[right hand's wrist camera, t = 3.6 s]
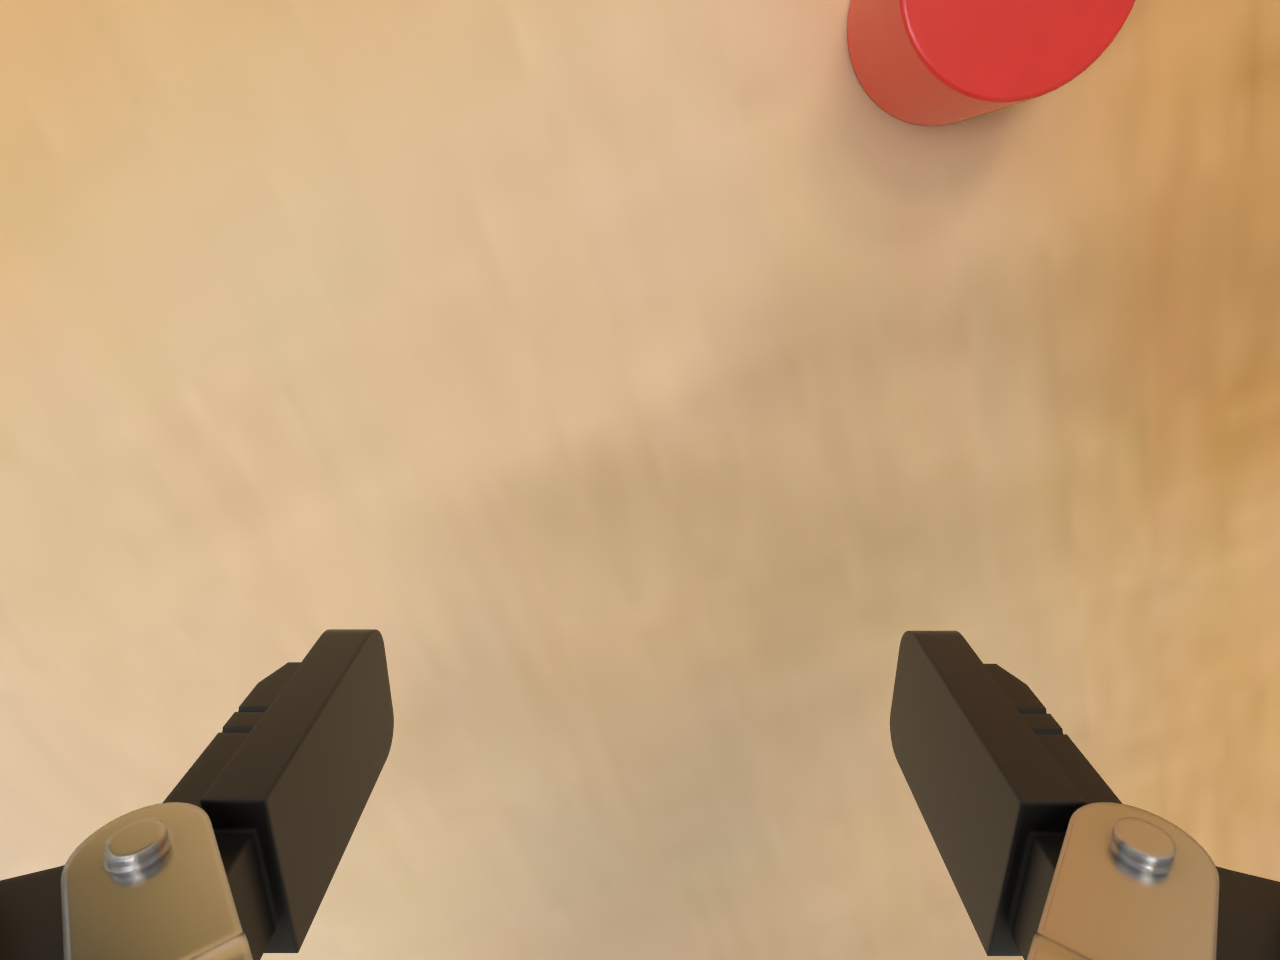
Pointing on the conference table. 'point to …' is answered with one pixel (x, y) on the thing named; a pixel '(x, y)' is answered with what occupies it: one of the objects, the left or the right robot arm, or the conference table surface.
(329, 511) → the conference table surface
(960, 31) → the cylinder
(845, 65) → the conference table surface
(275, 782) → the right robot arm
